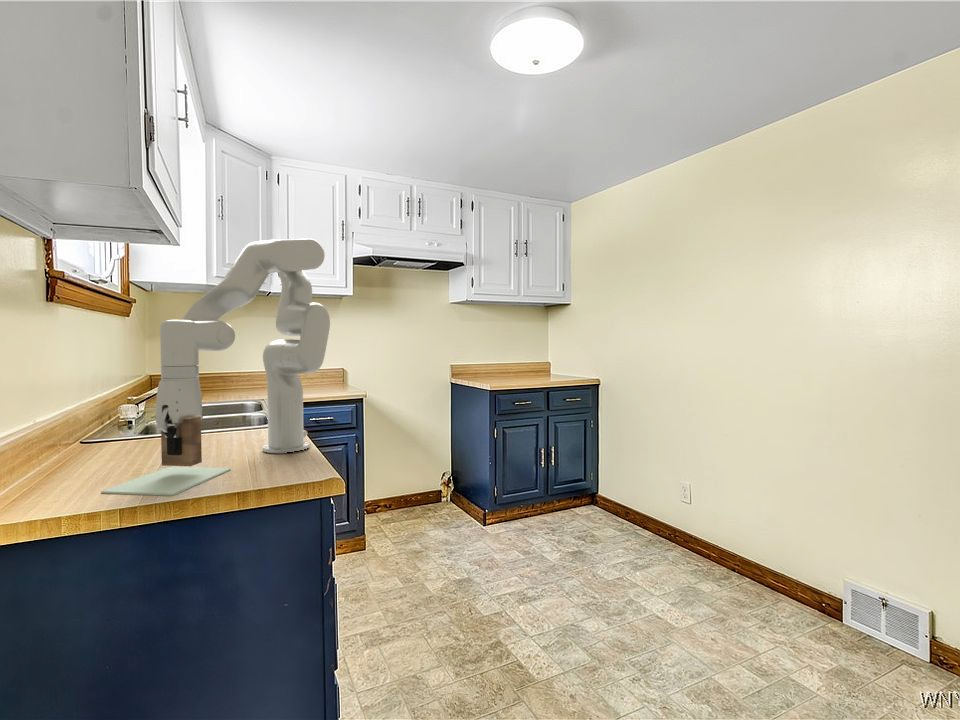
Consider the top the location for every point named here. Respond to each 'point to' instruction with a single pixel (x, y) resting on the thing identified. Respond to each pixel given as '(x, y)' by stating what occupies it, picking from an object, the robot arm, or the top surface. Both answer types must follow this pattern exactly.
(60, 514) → the top surface
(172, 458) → the walnut slab
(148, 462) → the top surface
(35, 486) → the top surface
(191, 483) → the sage mat
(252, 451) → the top surface
